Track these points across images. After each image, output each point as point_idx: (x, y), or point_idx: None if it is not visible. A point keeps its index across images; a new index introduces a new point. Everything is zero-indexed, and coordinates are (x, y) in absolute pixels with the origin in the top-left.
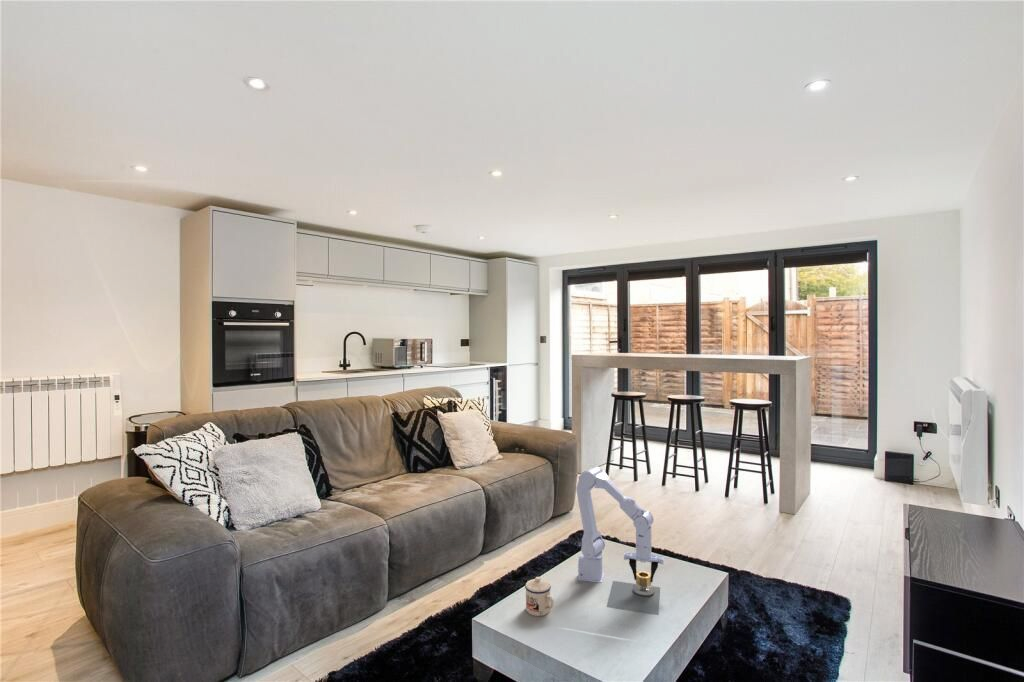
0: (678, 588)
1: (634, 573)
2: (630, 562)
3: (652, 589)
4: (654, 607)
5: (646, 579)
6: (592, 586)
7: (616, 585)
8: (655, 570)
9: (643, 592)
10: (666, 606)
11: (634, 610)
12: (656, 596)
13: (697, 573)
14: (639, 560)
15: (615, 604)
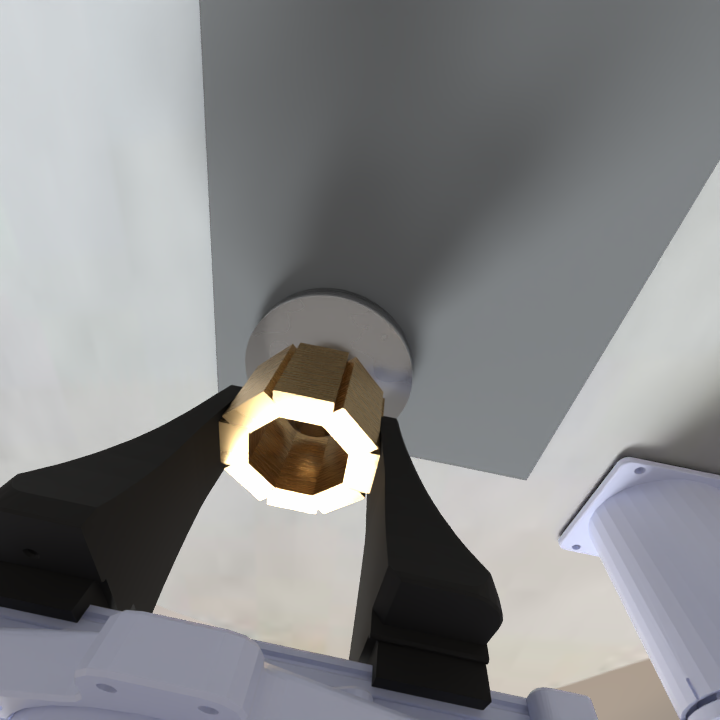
0: (118, 415)
1: (399, 463)
2: (472, 626)
3: (259, 364)
4: (245, 91)
5: (269, 382)
6: (716, 421)
7: (520, 429)
8: (83, 457)
9: (331, 316)
10: (152, 159)
11: None
12: (237, 300)
13: None
14: (282, 678)
15: (658, 96)
